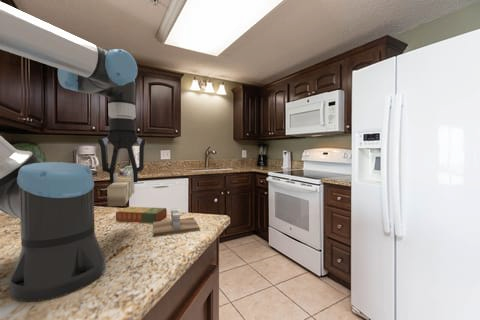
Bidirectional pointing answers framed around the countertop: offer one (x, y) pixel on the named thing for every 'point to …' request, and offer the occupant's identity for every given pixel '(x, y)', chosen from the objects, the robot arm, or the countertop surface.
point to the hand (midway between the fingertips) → (124, 193)
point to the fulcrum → (174, 225)
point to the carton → (141, 214)
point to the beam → (119, 192)
